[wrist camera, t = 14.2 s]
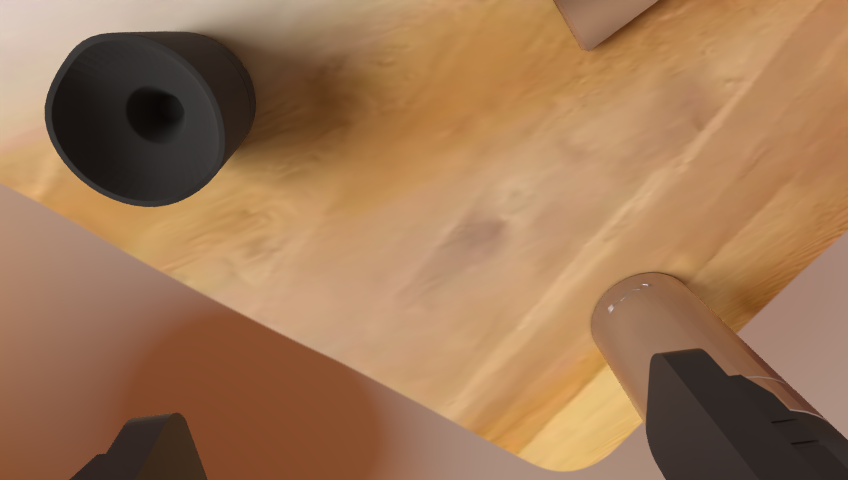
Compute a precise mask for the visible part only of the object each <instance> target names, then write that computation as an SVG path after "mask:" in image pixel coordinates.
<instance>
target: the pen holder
mask: <svg viewBox="0 0 848 480" xmlns="http://www.w3.org/2000/svg"><path fill="white" fill-rule="evenodd" d="M255 108H256V101H255V93H254V88H253V85H252V82H251V79H250V77H249V75H248V73H247V71H246V69H245V68H244V66H243V65H242V63H241V62H240V61H239V60H238V59H237V57H236V56H235V55H234V54H233V53H232V52H231V51H230V50H228V49H227V48H226V47H224V46H223V45H222V44H220V43H218V42H216V41H215V40H213V39H210V38H208V37H206V36H203V35H199V34H195V33H189V32H121V33H106V34H100V35H96V36H93V37H90V38H88V39H86V40H84V41H82V42H81V43H80V44H78V45H77V46H76V47H75V48H74V49H73V50H72V51H71V53H70V54H69V55H68V56H67V58H66V59H65V61H64V62H63V64H62V65H61V67H60V69H59V70H58V72H57V74H56V76H55V78H54V80H53V82H52V84H51V86H50V89H49V92H48V94H47V99H46V103H45V122H46V127H47V131H48V134H49V137H50V139H51V142H52V144H53V146H54V147H55V149H56V151H57V153H58V154H59V156H60V157H61V159H62V160H63V162H64V163H65V164H66V165H67V166H68V168H69V169H70V170H71V171H72V172H73V173H74V174H75V175H76V176H77V177H78V178H79V179H80V180H82V181H83V182H84V183H86V184H87V185H88V186H89V187H91V188H92V189H94V190H96V191H97V192H99V193H101V194H103V195H105V196H107V197H109V198H111V199H114V200H116V201H119V202H122V203H126V204H130V205H134V206H143V207H158V206H165V205H169V204H173V203H176V202H179V201H181V200H183V199H185V198H188V197H190V196H191V195H193V194H194V193H196V192H197V191H199V190H200V189H201V188H203V187H204V186H205V185H206V184H208V183H209V181H210V180H211V179H212V178H213V177H214V176H215V175H216V174H217V173H218V171H219V170H220V169H221V168H222V166H223V165H224V164H225V163H226V162H227V160H228V159H229V158H230V157H231V155H232V154H233V153H234V152H235V150H236V149H237V148H238V147H239V145H240V144H241V142H242V141H243V140H244V138H245V137H246V135H247V134H248V132H249V130H250V128H251V126H252V123H253V120H254V116H255Z"/></svg>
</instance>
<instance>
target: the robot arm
mask: <svg viewBox="0 0 848 480" xmlns="http://www.w3.org/2000/svg"><path fill="white" fill-rule="evenodd" d="M591 329H592V336H593V338H594V341H595V343H596V345H597V346H598V348H599V350H600V351H601V353H602V355H603V356H604V358H605V359H606V361H607V363H608V364H609V366H610V368H611V370H612V371H613V373H614V375H615V376H616V378H617V379H618V381H619V383H620V384H621V386H622V388H623V389H624V391H625V393H626V394H627V396H628V398H629V399H630V401H631V402H632V404H633V406H634V407H635V409H636V411H637V412H638V414H639V416H640V417H641V419H642V420H643V422H644V424H645V425H646V434H647V439H648V443H649V446H650V450H651V452H652V455H653V457H654V459H655V462H656V463H657V465H658V467H659V469H660V470H661V472H662V474H663V476H664V477H665V479H666V480H848V440H847V439H846V438H845V437H844V436H843V435H842V434H841V433H839V431H837V430H836V429H835V428H834V427H833V426H832V425H831V424H830V423H829V422H828V421H827V420H826V419H825V418H823V416H822V415H821V414H820V413H819V412H818V411H817V410H816V409H814V408H813V407H812V406H811V405H810V404H809V403H808V402H807V401H806V400H805V399H804V398H803V397H802V396H801V395H800V394H799V393H797V391H796V390H794V389H793V388H792V387H791V386H790V385H789V384H788V383H786V381H785V380H784V379H782V377H780V376H779V375H778V374H777V373H776V372H775V371H774V370H773V369H772V368H771V367H770V366H769V365H768V364H767V363H766V362H765V361H764V360H763V359H761V358H760V357H759V356H758V355H757V354H756V353H755V352H754V351H753V350H752V349H751V348H750V347H749V346H748V345H747V344H746V343H744V341H743V340H741V338H739V337H738V336H737V335H736V334H735V333H734V332H733V331H732V330H731V329H730V328H729V327H728V326H727V325H726V324H725V323H724V322H723V321H722V320H721V319H720V318H718V317H717V316H716V315H715V314H714V313H713V312H712V311H711V310H710V309H709V308H708V307H707V306H706V305H705V304H704V303H703V302H702V301H701V300H700V299H699V298H698V297H697V296H695V295H694V294H693V293H692V292H691V291H690V290H689V289H688V288H687V287H686V286H685V285H684V284H683V283H682V282H680V281H679V280H677V279H676V278H674V277H672V276H669V275H665V274H662V273H645V274H639V275H635V276H632V277H629V278H627V279H625V280H623V281H621V282H619V283H618V284H616V285H615V286H614V287H612V288H611V289H610V290H608V292H607V293H606V294H605V295H604V296H603V297H602V298H601V300H600V301H599V303H598V304H597V306H596V308H595V311H594V313H593V316H592V323H591ZM70 480H207V477H206V474H205V471H204V469H203V466H202V463H201V460H200V458H199V455H198V452H197V450H196V447H195V444H194V441H193V439H192V436H191V433H190V431H189V428H188V425H187V422H186V420H185V418H184V417H183V416H182V415H181V414H180V413H170V414H162V415H154V416H146V417H139V418H132V419H130V420H128V421H127V422H126V424H125V425H124V426H123V428H122V429H121V431H120V432H119V434H118V436H117V437H116V439H115V440H114V442H113V443H112V445H111V447H110V448H109V450H108V451H107V453H106V454H99V455H96V456H95V457H94V458H93V459H92V460H91V461H90V462H88V464H86V465H85V466H84V467H83V468H82V469H81V470H80V471H78V472H77V473H76V474H75V475H74V476H73V477H72V478H71V479H70Z"/></svg>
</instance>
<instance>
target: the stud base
mask: <svg viewBox="0 0 848 480" xmlns="http://www.w3.org/2000/svg"><path fill="white" fill-rule="evenodd" d="M657 1H658V0H554V2H555V4H556V6H557V7H558V9H559V11H560V13H561V14H562V16H563V18H564V19H565V21H566V23H567V25H568V26H569V28H570V30H571V31H572V33H573V35H574V37H575V38H576V40H577V42H578V44H579V45H580V47H581V49H582V50H586V51H590V50H591V49H593V48H594V47H596V46H597V45H598V44H600V43H601V42H602V41H604V40H605V39H606V38H608V37H609V36H610V35H612V34H613V33H615V32H616V31H617V30H619V29H620V28H621V27H623V26H624V25H625V24H627V23H628V22H630V21H631V20H632V19H634V18H635V17H636V16H638V15H639V14H640V13H642V12H643V11H645V10H646V9H647V8H649V7H650V6H651V5H653V4H654V3H655V2H657Z"/></svg>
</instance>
